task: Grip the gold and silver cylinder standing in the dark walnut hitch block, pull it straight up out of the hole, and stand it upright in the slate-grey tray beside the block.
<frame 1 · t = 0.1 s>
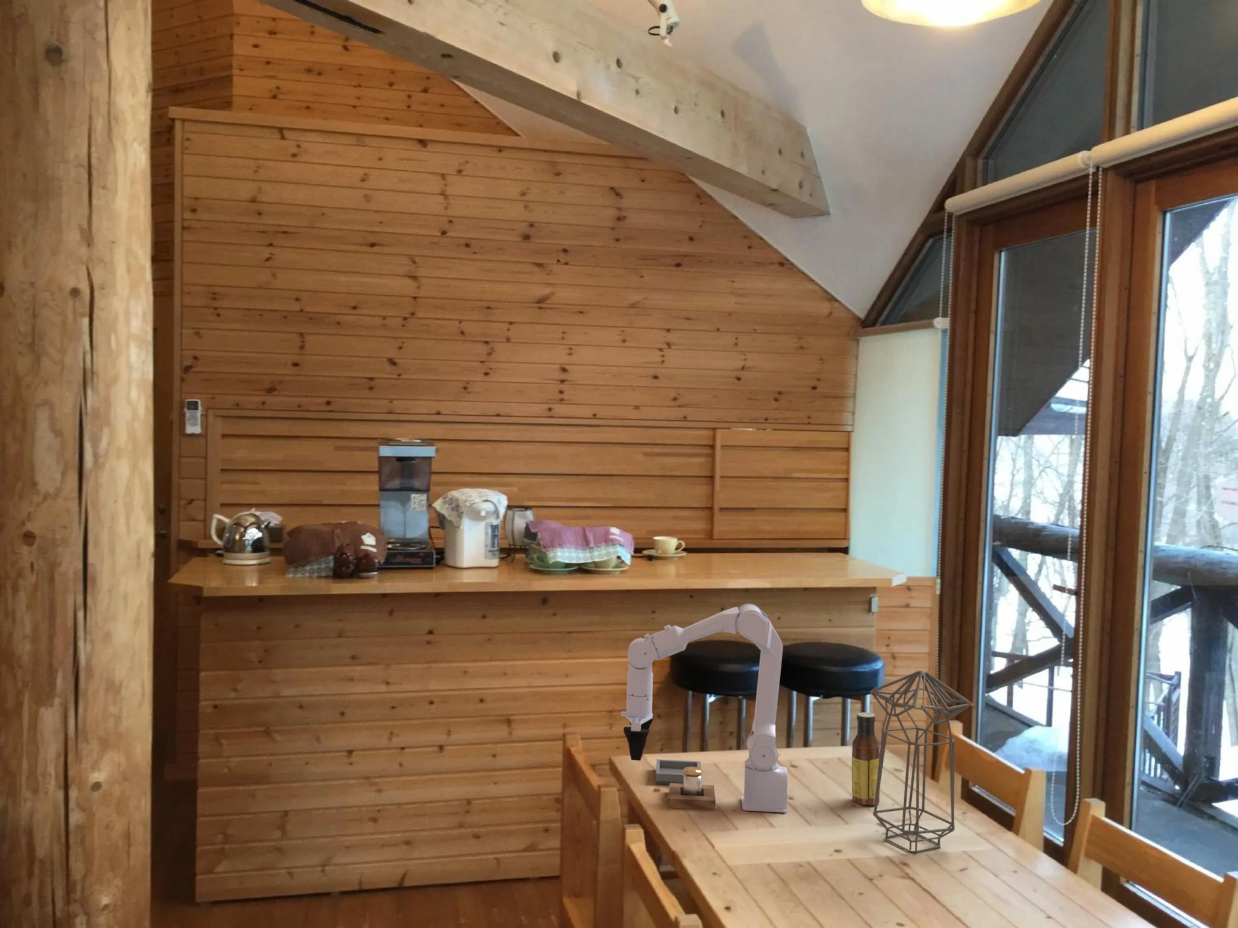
hand: (637, 754, 225), 10 cm above the table, tool pointing down, fingers open, 7 cm apart
hitch block: (691, 800, 225), on the table
gold and silver cylinder: (692, 784, 225), in the hitch block
sauce bottle: (865, 802, 228), on the table
geometric lantern: (914, 842, 206), on the table
tray: (678, 777, 240), on the table
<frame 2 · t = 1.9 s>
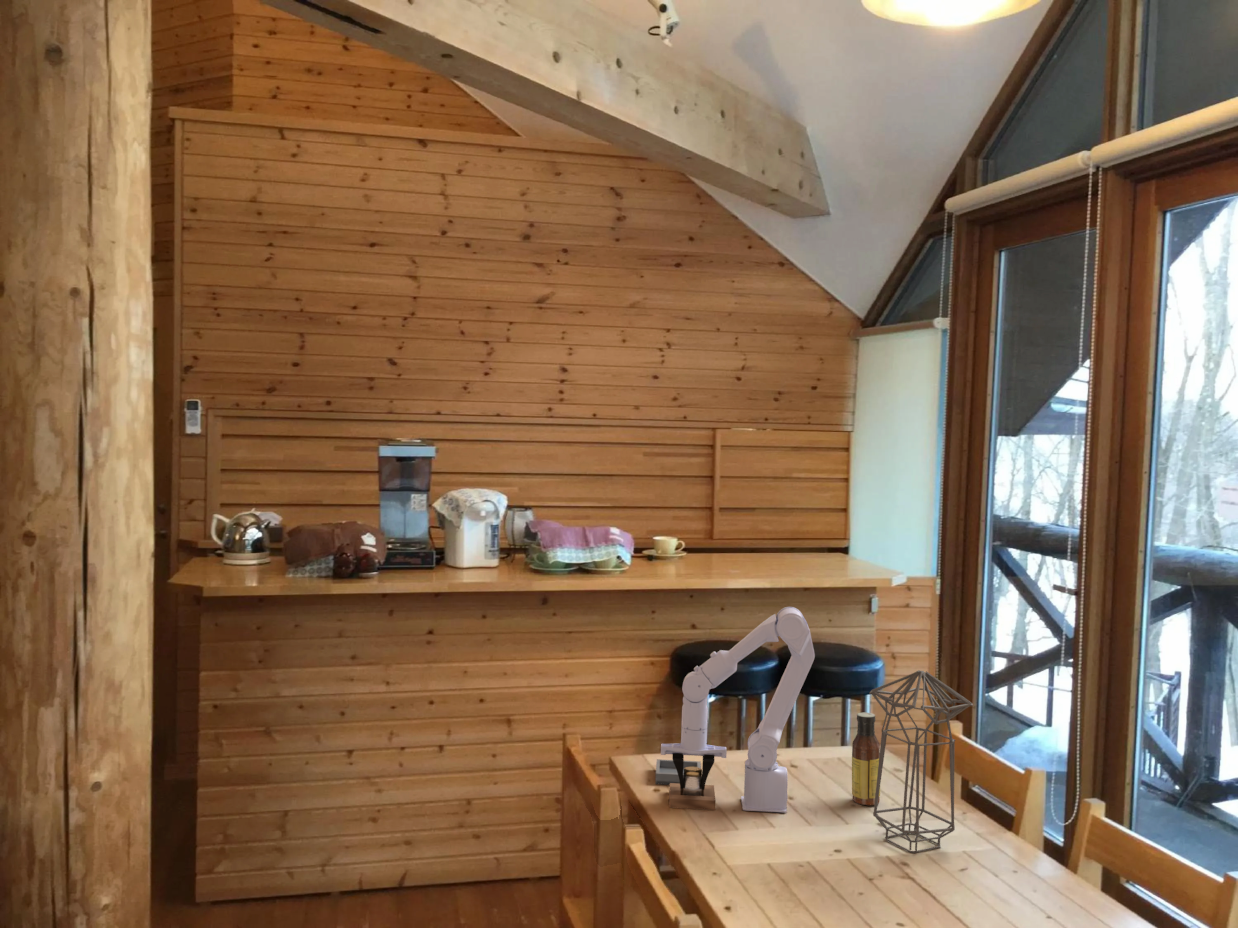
hand: (692, 787, 225), 3 cm above the table, tool pointing down, fingers closed on gold and silver cylinder, 4 cm apart
gold and silver cylinder: (692, 784, 225), in the hitch block, touching gripper
everything else where it was.
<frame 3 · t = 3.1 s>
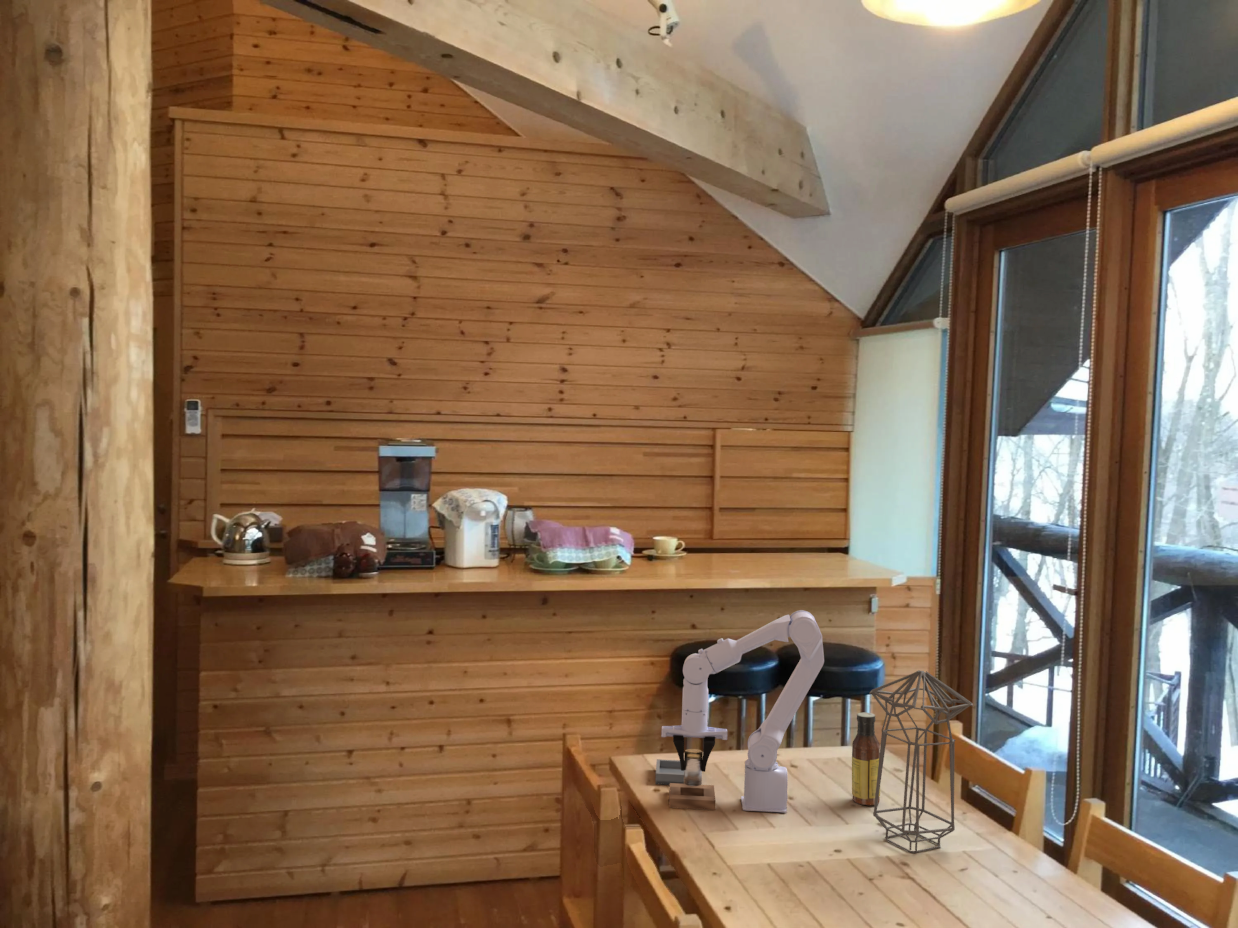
hand: (693, 769, 225), 7 cm above the table, tool pointing down, fingers closed on gold and silver cylinder, 4 cm apart
gold and silver cylinder: (693, 767, 225), point 8 cm above the table, touching gripper
everything else where it was.
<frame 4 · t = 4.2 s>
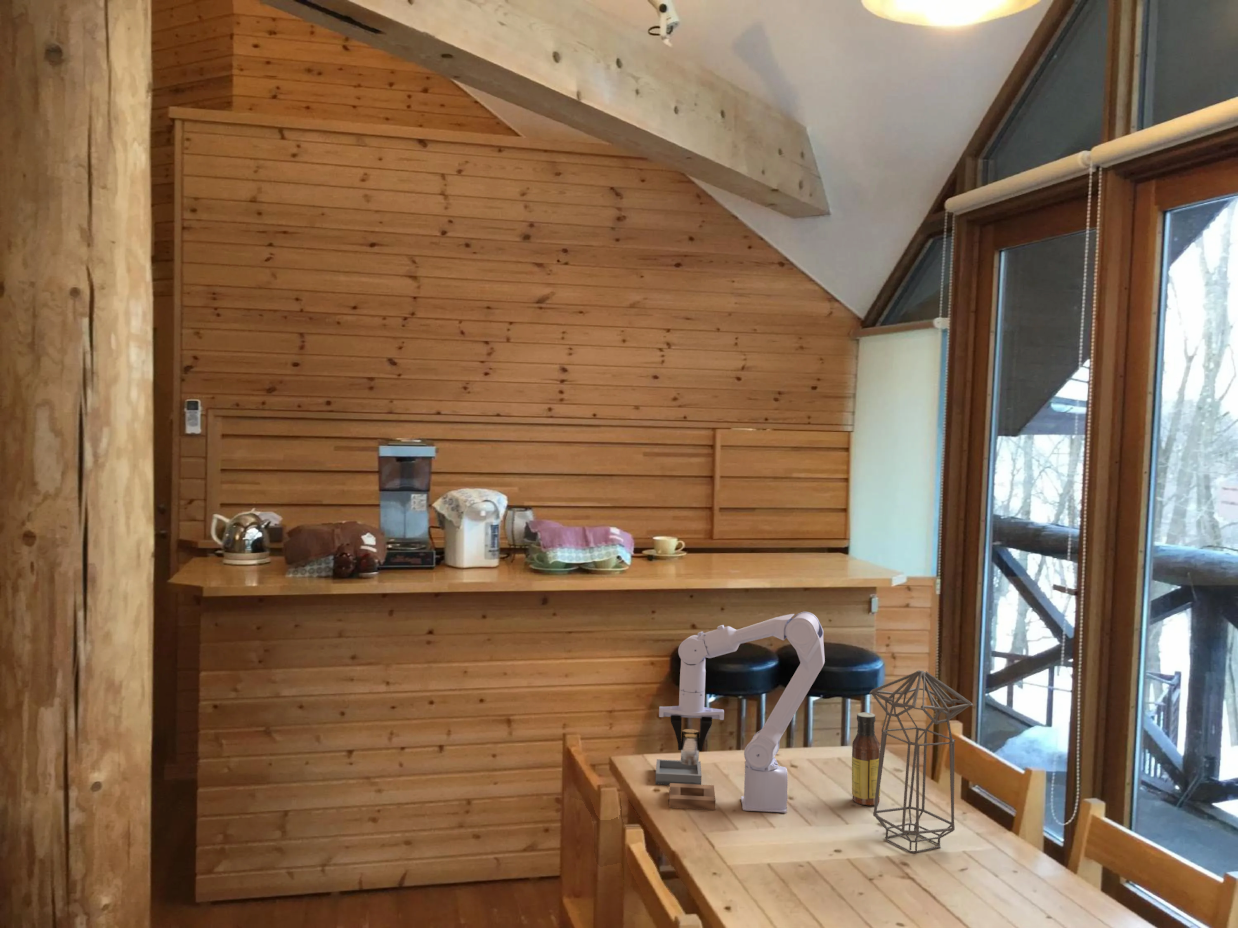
hand: (690, 749, 228), 10 cm above the table, tool pointing down, fingers closed on gold and silver cylinder, 4 cm apart
gold and silver cylinder: (690, 746, 228), point 11 cm above the table, touching gripper
everything else where it was.
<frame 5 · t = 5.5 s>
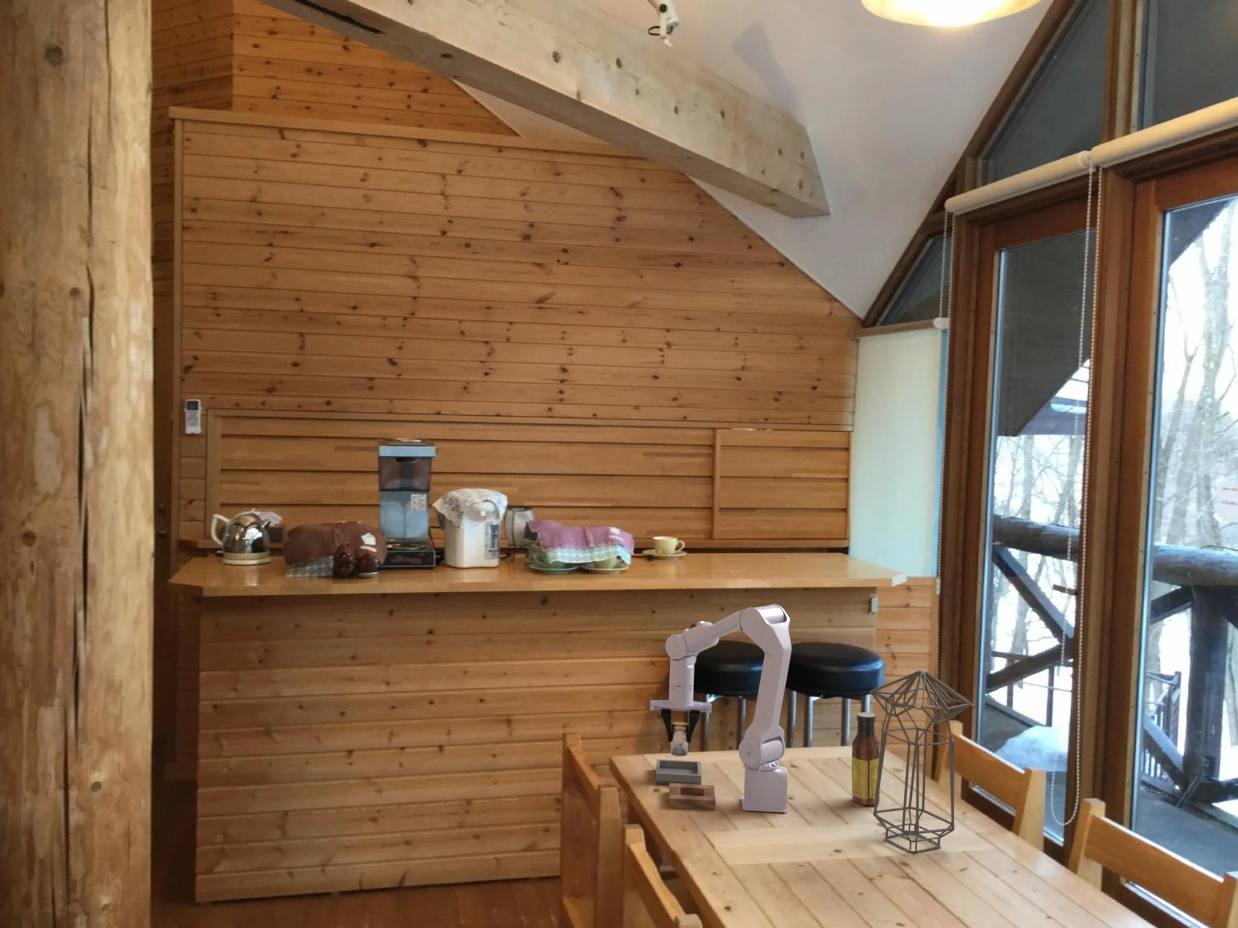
hand: (679, 741, 240), 9 cm above the table, tool pointing down, fingers closed on gold and silver cylinder, 4 cm apart
gold and silver cylinder: (679, 738, 240), point 9 cm above the table, touching gripper
everything else where it was.
when the fingers open (5 cm above the table, at t = 6.5 s): gold and silver cylinder drops 1 cm, resting on tray.
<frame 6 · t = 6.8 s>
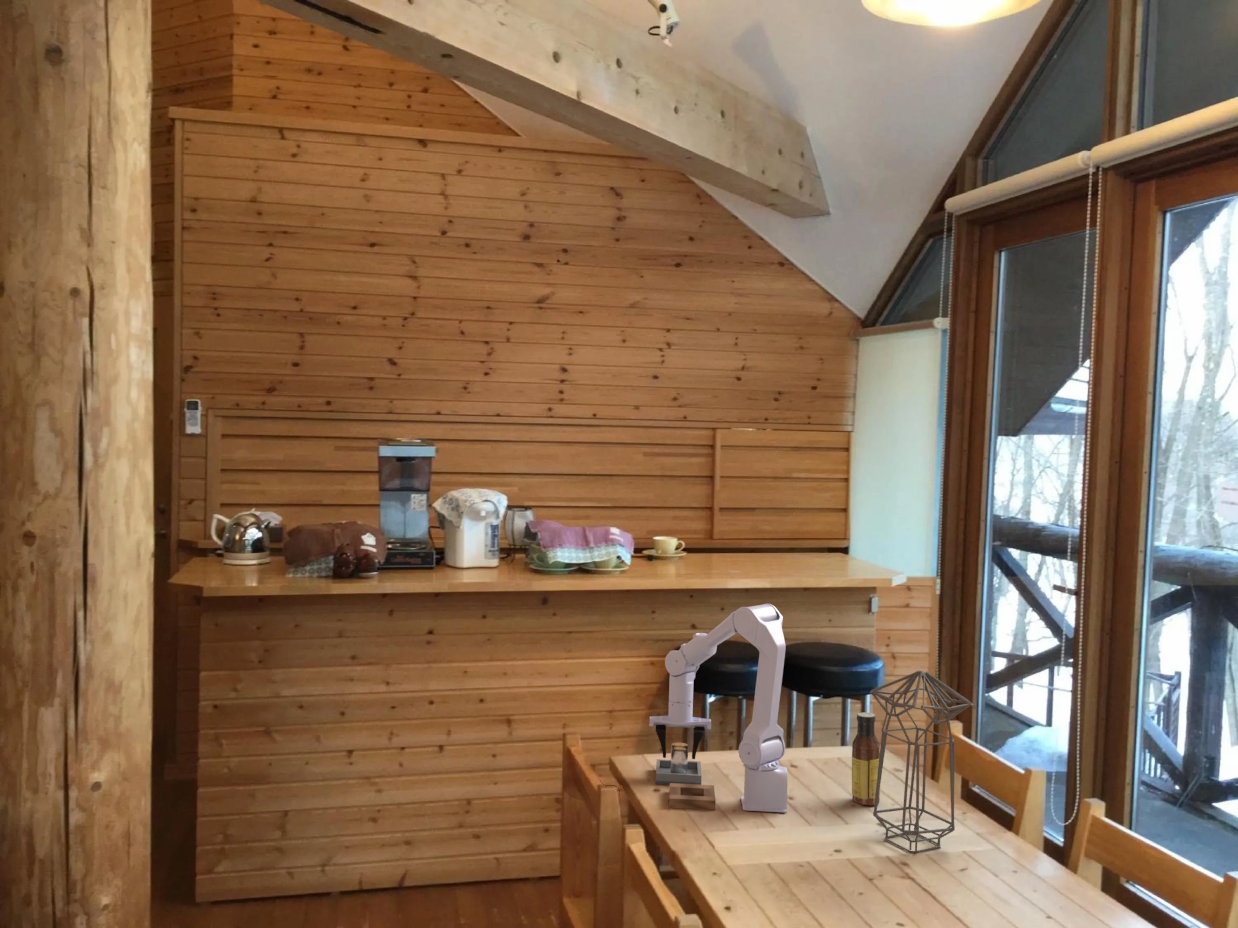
hand: (678, 757, 240), 5 cm above the table, tool pointing down, fingers open, 6 cm apart
gold and silver cylinder: (679, 759, 240), in the tray, point 4 cm above the table
everything else where it was.
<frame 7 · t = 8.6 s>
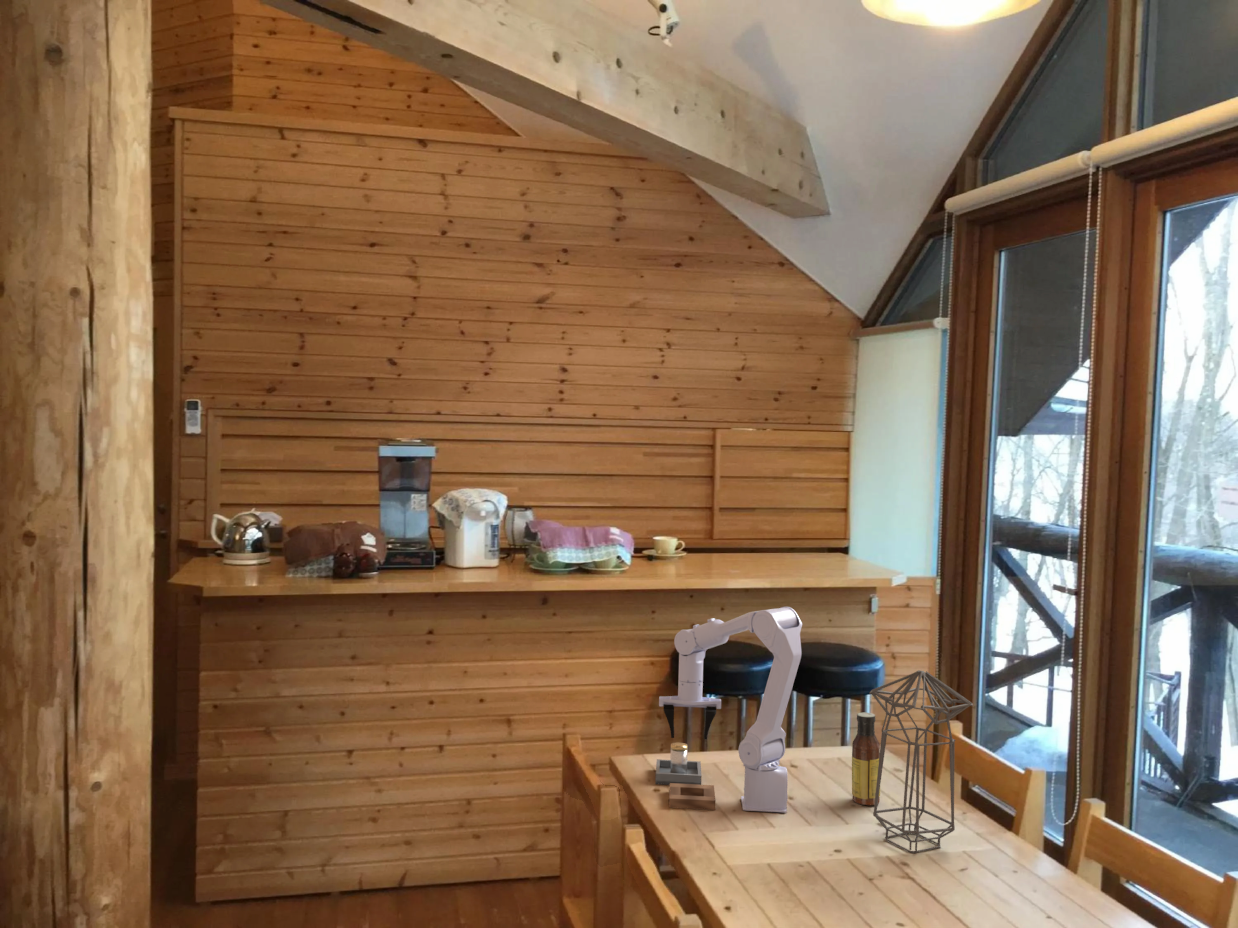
hand: (689, 737, 238), 10 cm above the table, tool pointing down, fingers open, 7 cm apart
nothing on the table moved.
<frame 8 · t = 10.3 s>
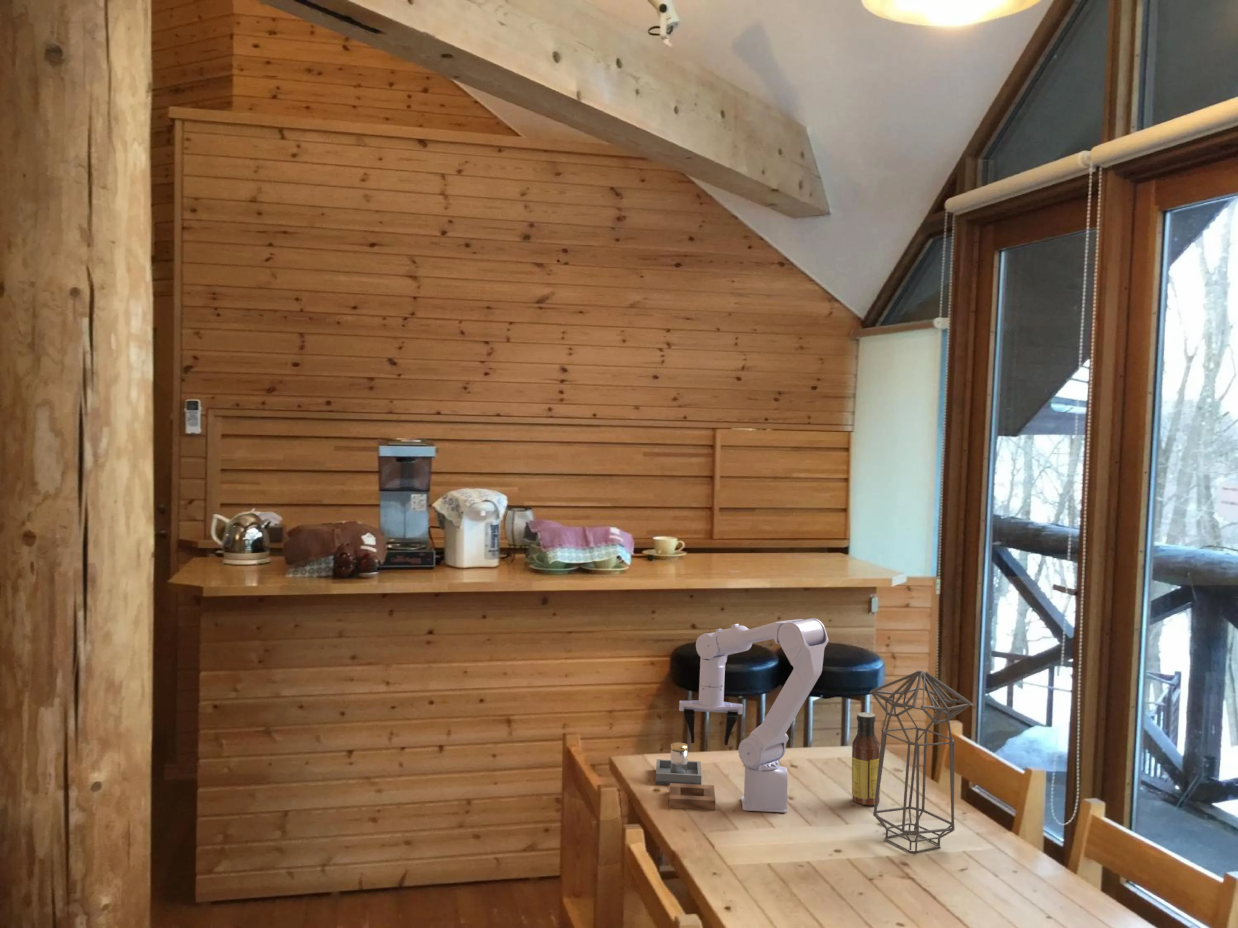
hand: (709, 742, 234), 10 cm above the table, tool pointing down, fingers open, 7 cm apart
nothing on the table moved.
at the end: gold and silver cylinder inside the target area on the tray (0.1 cm from its centre), point 4.4 cm above the tray's base; gold and silver cylinder tilted 2°; the gripper is holding nothing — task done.
